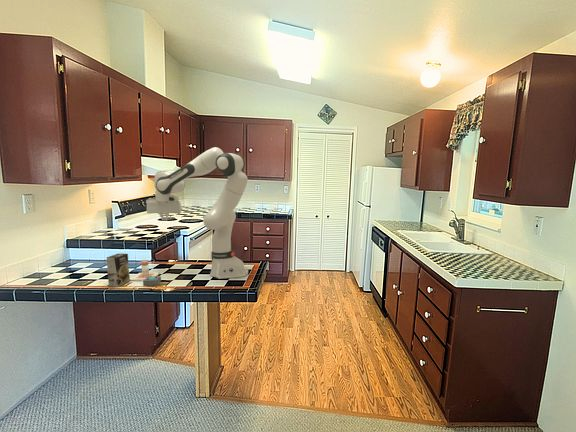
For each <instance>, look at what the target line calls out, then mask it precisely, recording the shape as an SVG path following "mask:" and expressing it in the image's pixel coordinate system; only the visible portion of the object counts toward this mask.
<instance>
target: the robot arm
mask: <svg viewBox="0 0 576 432" xmlns="http://www.w3.org/2000/svg"><path fill="white" fill-rule="evenodd" d="M245 167H246V160H245V158H244V157H243V156H242V155H240V154H238V153H234V152H233V153H232V152H231V153H230V152H224V151H223V150H222V149H221V148H219V147H215V146H214V147H210V149H208V150H207V149H206V150H205V151H204V152H202V153H201V154H199V155H198V156H196V157H195V158H194V159H192V160H191V161H189V162H188V163H186V164H185V165H183V166H181V167H180V168H178V169H176V170H175V171H173V172H172V173H170V172H169V171H168V170H162V171H157V172H156V173H155V174H154V189H155V191H154V192H155V193H154V194H155V197H154V198H153V197H149V198H147V199H146V200H145V202H146V213H147V214H159V216H160V217H161V221H168V217H169V216H170V214H180V213H181V212H182V204H181V202H180V197H178V196H176V195H172V194H176V193H181V192H183V191H184V189H185V186H186V183H185V181H184V180H186V179H188V178H193V177H200V176H201V177H202V176H205V175H208V174H209V173H211V172H212V171H214V170H216V169H217V170H218V171H220V173H222V175H223V176H224V177H227V181H226V183H225V184H224V186H223V189H222V191H221V193H220V196H219V197H218V199H216V201H215V203H214V204H213V206H212V207H211V208H210V210H209V211H207V213H206V214H205V215H204V216H203V219H202V222H203V225H204V227H205V228H206V229H208V230H214V232H213V235H212V236H211V253H210V257H211V268H210V269H211V270H210V273H209V275H210V276H211V277H214V278H216V279H219V280H220V279H223V280H224V279H230V278H231V279H232V278H243V277H244V278H245V277H246V276H248V274H249V268H246V267H245V264H244V262H243V260H241V259H240V258H238V257H236V256H235V255H236V254H235V250H232V240H231V238H232V232H233V231H232V230H233V228H234V223H235V221H236V218H237V215H236V212H235V211H234V209H236V208H237V206H238V204H239V202H240V200H241V198H242V196H243V195H244V192H245V189H246V188H247V184H248V176H247V174H246V173H244V172H243V171H244V169H245ZM164 214H165V215H166V216H163V215H164Z"/></svg>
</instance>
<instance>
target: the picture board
mask: <svg viewBox="0 0 576 432" xmlns="http://www.w3.org/2000/svg"><path fill="white" fill-rule="evenodd" d="M160 274H161V272H149V276H160ZM147 277H148V276H147ZM147 277H143V276H142V272H138V273H137V274H136V275H134V276H133V277H132V278H131V279H130V282H143V280H144V279H146V278H147Z"/></svg>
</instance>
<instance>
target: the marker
mask: <svg viewBox="0 0 576 432" xmlns="http://www.w3.org/2000/svg"><path fill="white" fill-rule="evenodd" d="M140 263H141V273H142V276H143V277H147V276H149V273H150V269H149V260H148V259H141V260H140Z"/></svg>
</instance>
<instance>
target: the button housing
mask: <svg viewBox="0 0 576 432" xmlns="http://www.w3.org/2000/svg"><path fill="white" fill-rule="evenodd" d="M149 277H156V279H155V280H149V279H148V278H149ZM161 282H162V275H158V276H148V277H147V278H146V279H144V280H143V281H142V285H143V287H154V286H155V287H157V286H158V285H159V284H160V283H161Z"/></svg>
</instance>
